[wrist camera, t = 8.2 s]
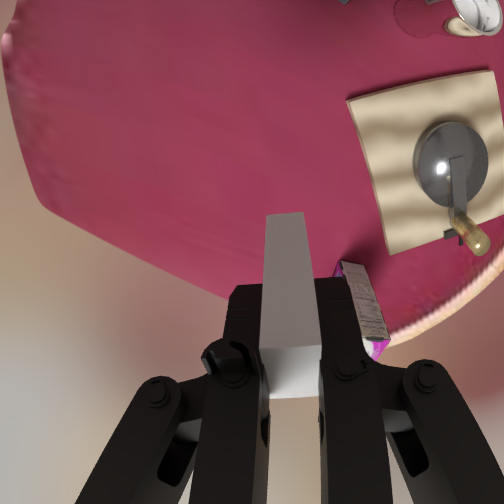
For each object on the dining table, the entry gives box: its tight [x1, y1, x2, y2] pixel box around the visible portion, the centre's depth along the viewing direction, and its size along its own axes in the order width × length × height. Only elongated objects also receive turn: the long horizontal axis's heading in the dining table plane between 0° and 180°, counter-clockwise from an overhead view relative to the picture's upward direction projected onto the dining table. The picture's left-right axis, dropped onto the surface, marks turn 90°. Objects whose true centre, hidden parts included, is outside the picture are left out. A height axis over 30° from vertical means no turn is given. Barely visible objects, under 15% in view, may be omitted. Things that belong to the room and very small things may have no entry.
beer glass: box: [394, 0, 503, 38], centre depth 19 cm, size 7×7×15 cm
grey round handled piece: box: [413, 120, 490, 256], centre depth 32 cm, size 18×12×9 cm, turn 22°
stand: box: [346, 70, 504, 255], centre depth 35 cm, size 24×24×3 cm
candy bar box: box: [333, 261, 391, 361], centre depth 43 cm, size 11×5×16 cm, turn 171°
